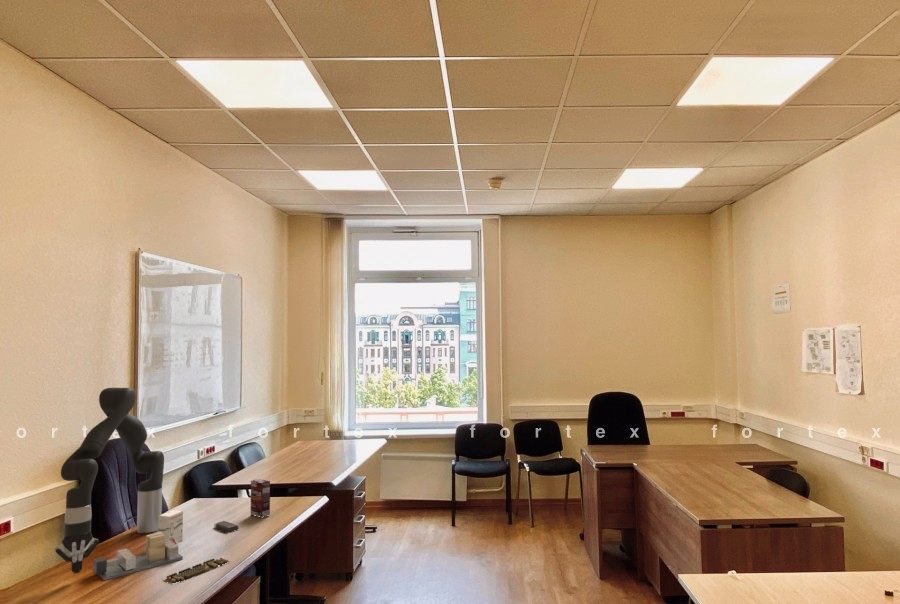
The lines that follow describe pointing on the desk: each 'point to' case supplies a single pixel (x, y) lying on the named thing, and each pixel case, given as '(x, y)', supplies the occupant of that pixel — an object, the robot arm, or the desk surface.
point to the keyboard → (195, 570)
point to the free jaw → (115, 562)
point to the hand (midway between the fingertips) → (76, 572)
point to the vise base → (145, 562)
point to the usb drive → (225, 526)
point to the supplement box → (260, 497)
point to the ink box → (172, 525)
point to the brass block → (155, 546)
